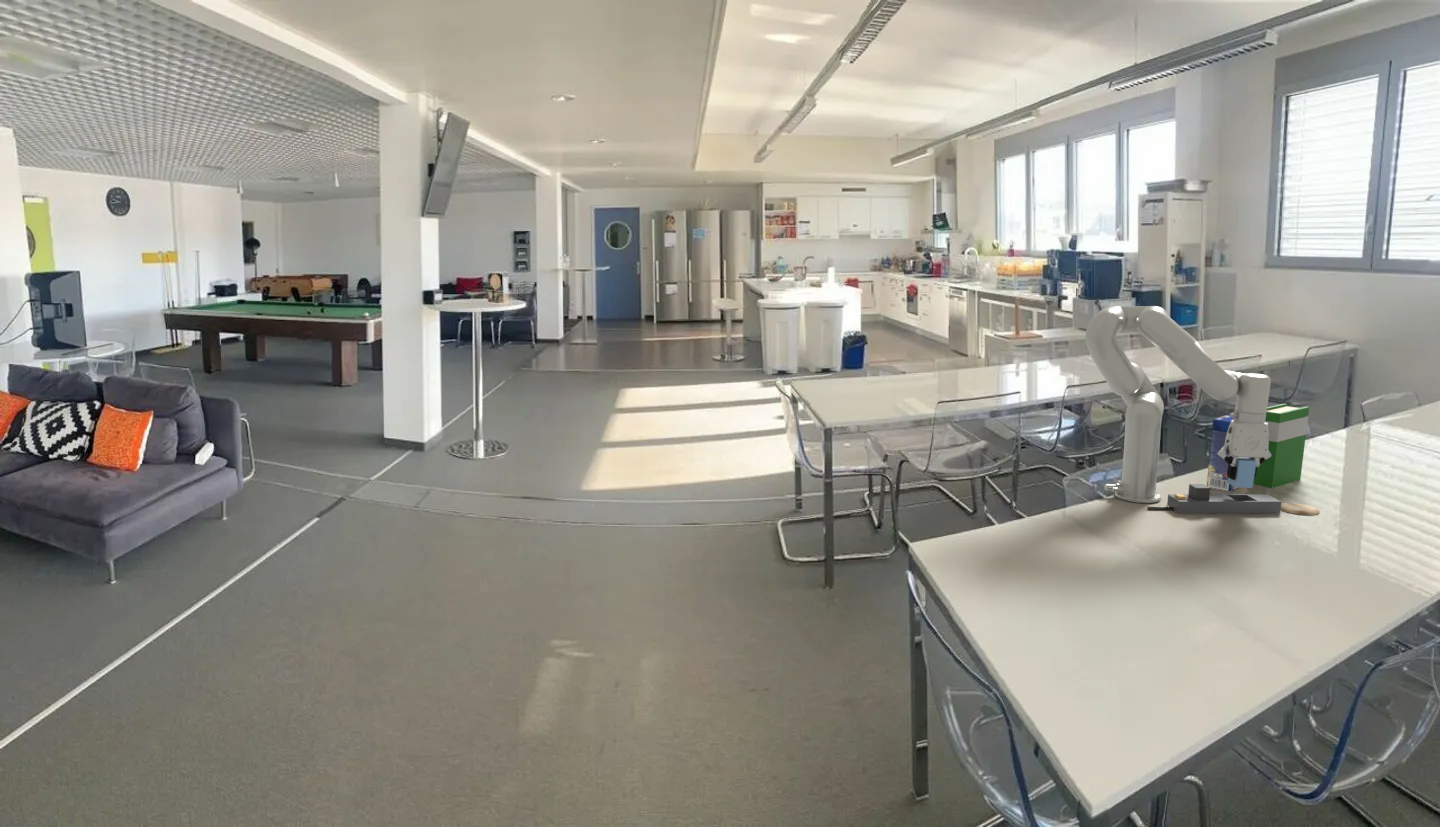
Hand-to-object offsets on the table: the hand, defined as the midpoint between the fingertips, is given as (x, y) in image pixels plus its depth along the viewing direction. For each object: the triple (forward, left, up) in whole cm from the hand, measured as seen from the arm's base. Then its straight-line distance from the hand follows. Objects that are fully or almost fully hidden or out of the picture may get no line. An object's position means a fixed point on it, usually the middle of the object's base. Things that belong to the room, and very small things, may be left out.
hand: (1240, 478), depth 237 cm
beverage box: (+9, +24, -10) cm, 27 cm away
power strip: (-8, 0, -9) cm, 12 cm away
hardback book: (+26, +29, -10) cm, 41 cm away
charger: (0, 0, -2) cm, 2 cm away
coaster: (+17, 0, -9) cm, 19 cm away
